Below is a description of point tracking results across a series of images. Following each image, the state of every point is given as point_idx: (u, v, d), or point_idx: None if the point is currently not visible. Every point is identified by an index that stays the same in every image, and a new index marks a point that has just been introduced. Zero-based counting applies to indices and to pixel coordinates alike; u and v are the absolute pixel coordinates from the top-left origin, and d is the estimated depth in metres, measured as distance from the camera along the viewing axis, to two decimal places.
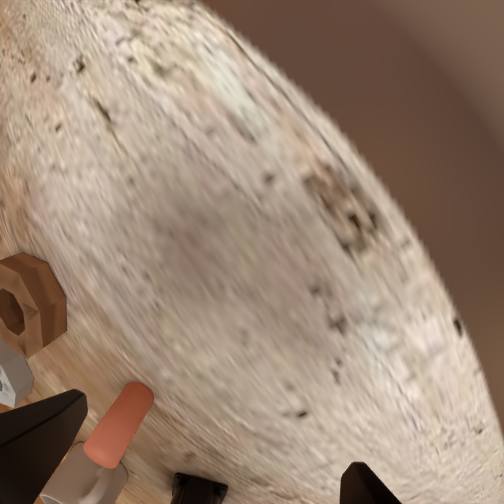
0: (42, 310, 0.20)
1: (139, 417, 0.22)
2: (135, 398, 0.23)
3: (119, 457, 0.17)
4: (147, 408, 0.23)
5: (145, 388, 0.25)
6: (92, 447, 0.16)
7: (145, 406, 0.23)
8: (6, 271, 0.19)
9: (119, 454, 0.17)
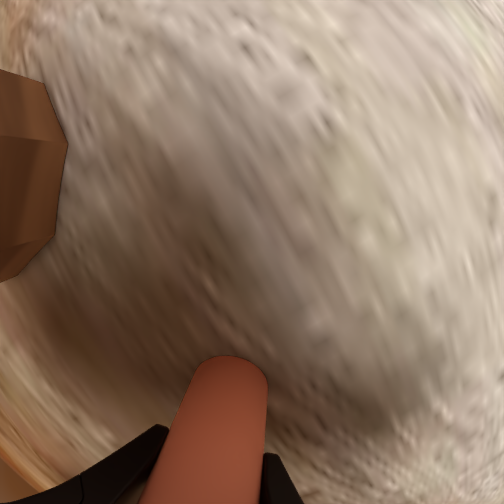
0: (2, 137, 0.06)
1: (263, 450, 0.07)
2: (243, 397, 0.09)
3: None
4: None
5: (254, 369, 0.10)
6: None
7: (264, 415, 0.09)
8: None
9: None
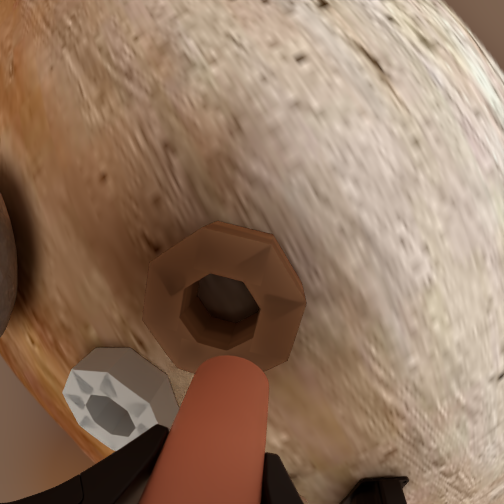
0: None
1: (264, 450, 0.07)
2: (244, 397, 0.09)
3: None
4: None
5: (255, 369, 0.10)
6: None
7: (266, 415, 0.09)
8: (232, 243, 0.16)
9: None
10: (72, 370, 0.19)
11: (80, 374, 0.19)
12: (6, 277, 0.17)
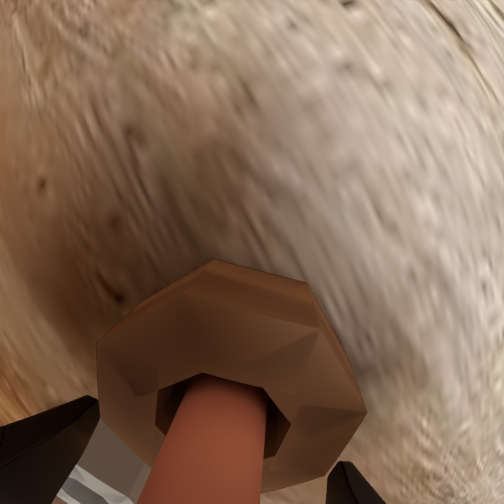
0: (363, 406, 0.09)
1: (265, 415, 0.09)
2: None
3: None
4: None
5: None
6: None
7: None
8: (243, 325, 0.08)
9: None
10: None
11: None
12: None
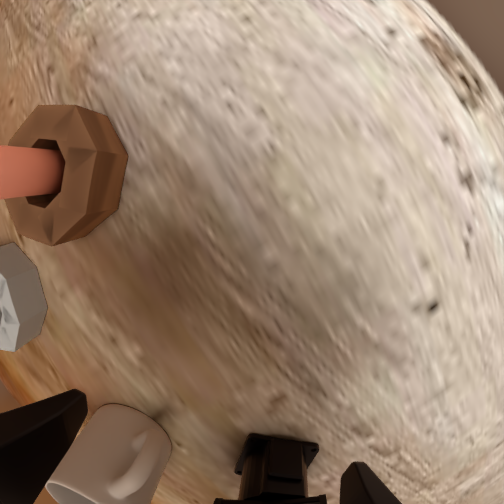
0: (100, 151, 0.15)
1: (60, 165, 0.15)
2: None
3: (6, 171, 0.11)
4: None
5: None
6: None
7: None
8: (52, 111, 0.14)
9: (9, 167, 0.11)
10: None
11: None
12: None
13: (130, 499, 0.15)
